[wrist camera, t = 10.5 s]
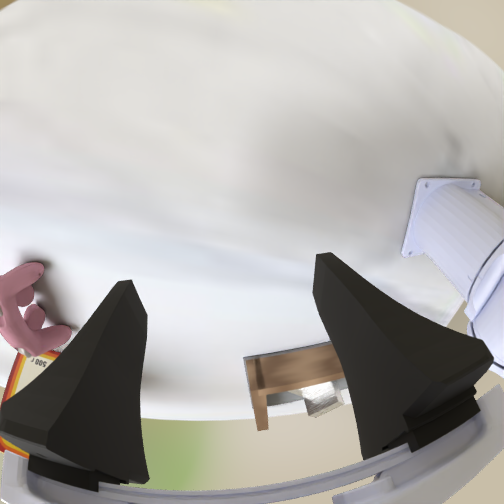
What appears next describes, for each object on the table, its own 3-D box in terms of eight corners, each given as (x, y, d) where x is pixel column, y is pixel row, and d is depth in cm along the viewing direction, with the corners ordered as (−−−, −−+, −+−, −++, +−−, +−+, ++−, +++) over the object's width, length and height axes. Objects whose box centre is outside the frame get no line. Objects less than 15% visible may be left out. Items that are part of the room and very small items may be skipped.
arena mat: (386, 326, 31) (388, 329, 31) (360, 382, 40) (361, 384, 39) (243, 357, 30) (243, 361, 29) (252, 406, 38) (252, 409, 38)
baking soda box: (35, 367, 28) (14, 463, 15) (22, 341, 24) (-9, 449, 12) (91, 382, 31) (79, 487, 18) (83, 358, 27) (64, 480, 14)
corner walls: (390, 325, 31) (405, 352, 27) (363, 381, 40) (372, 402, 36) (245, 357, 30) (250, 391, 26) (253, 406, 38) (257, 430, 35)
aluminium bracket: (333, 373, 35) (344, 403, 31) (307, 387, 36) (316, 417, 32) (312, 361, 32) (323, 396, 28) (283, 378, 33) (291, 411, 29)
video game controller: (23, 247, 19) (-27, 288, 14) (45, 261, 18) (-11, 309, 13) (53, 318, 25) (16, 357, 19) (77, 336, 24) (39, 380, 18)
